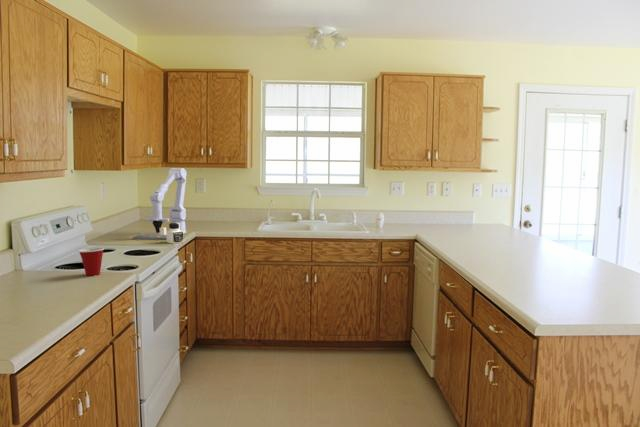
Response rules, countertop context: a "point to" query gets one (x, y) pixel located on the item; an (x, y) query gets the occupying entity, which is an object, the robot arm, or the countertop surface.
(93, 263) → the plastic cup
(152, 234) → the console
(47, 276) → the countertop surface
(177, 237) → the medicine bottle
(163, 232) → the fader
